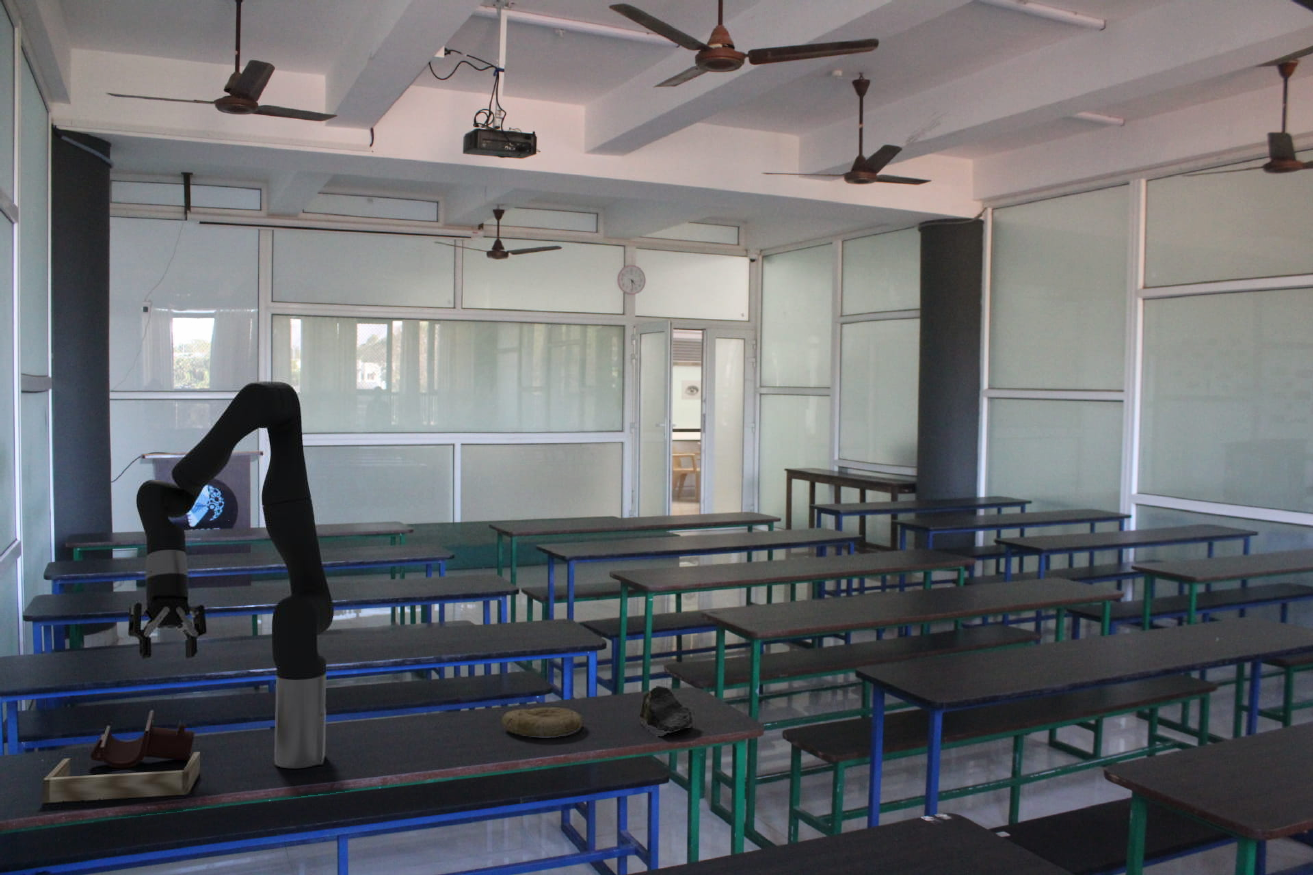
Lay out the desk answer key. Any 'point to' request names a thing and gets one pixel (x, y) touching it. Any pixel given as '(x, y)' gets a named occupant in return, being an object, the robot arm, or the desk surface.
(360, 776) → the desk surface
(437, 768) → the desk surface
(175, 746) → the bracket
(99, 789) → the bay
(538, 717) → the brown thick ring
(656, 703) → the rock
